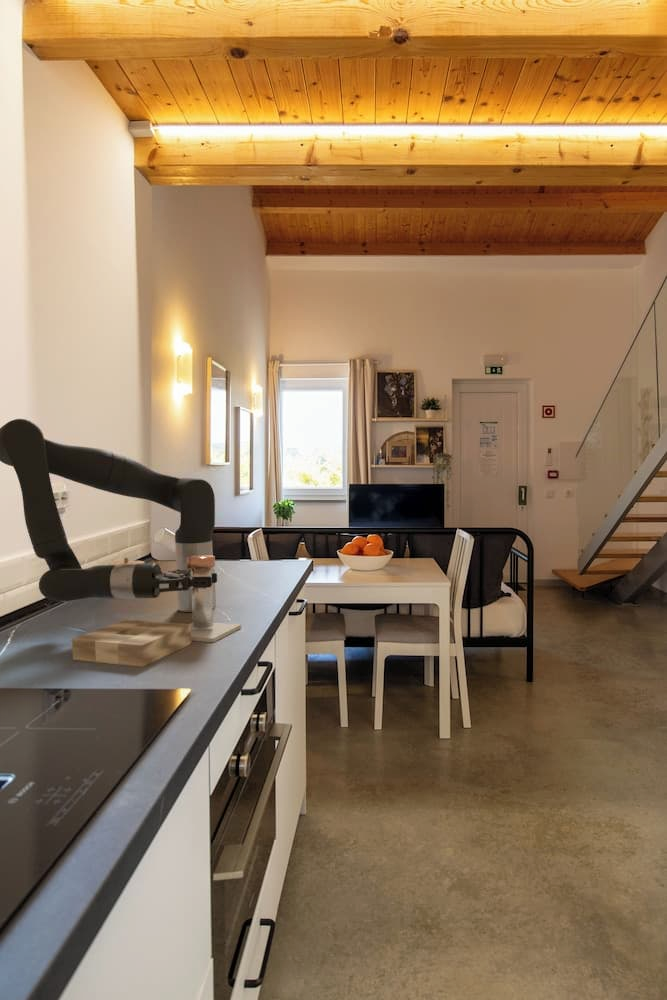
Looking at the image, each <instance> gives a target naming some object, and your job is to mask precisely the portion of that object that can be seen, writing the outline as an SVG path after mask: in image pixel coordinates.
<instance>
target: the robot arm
mask: <svg viewBox="0 0 667 1000" xmlns="http://www.w3.org/2000/svg"><path fill="white" fill-rule="evenodd" d="M0 462H1V463H3V464H4V465H7V466H11V467H12V468H13V469H14V471H15V473H16V476H17V479H18V482H19V486H20V490H21V497H22V505H23V506H22V507H23V516H24V520H25V525H26V529H27V532H28V536H29V540H30V543H31V545H32V548H33V552H34V554H35V556H36V557H37V558H39V559H43V560H45V563H46V565H47V566H48V568H49V570H47V571H46V572H44V573H43V574H42V575H41V577H40V579H39V581H38V589H39V591H40V593H41V595H42V596H43V597H44V598H46V599H48V600H50V601H53V602H68V601H74V600H75V601H76V600H82V599H88V598H105V599H106V598H109V599H111V598H120V599H157V598H159V596H160V594H161V593H169V592H177V593H176V594H177V596H176V597H177V610H178V611H180V612H185V613H192V590H191V589H192V588H197V587H211V586H212V599H213V609H214V608H215V607H216V605H217V600H216V583H217V582H218V573H216V572H215V571H216V570H215V568H214V567H211V568H212V577H194V578H193V576H191V568H187V557H190V556H198V555H211V556H214V555H213V554H214V552H213V533H214V531H215V528H216V527H215V526H216V501H215V500H216V499H215V492H214V489H213V487H212V485H211V484H210V482H208V481H207V480H206V479H203V478H198V477H197V478H196V477H192V478H191V477H188V478H187V477H179V476H173V475H170V474H169V475H168V474H165V473H162V472H157V471H156V470H153V469H151V468H149V467H147V466H146V465H144V464H142V463H141V462H138V461H137V460H135V459H132V458H130V457H127V456H125V455H122V454H119V453H116V452H113V451H110V450H106V449H102V448H96V447H89V446H79V445H68V444H64V443H63V444H62V443H59V442H55V441H53V440H49V439H47V438H46V437H45V436H44V433H43V432H42V430H41V429H40V427H39V426H38V425H37V424H36V423H35V422H33V421H31V420H28V419H25V418H16V419H13V420H10V421H8V422H6V423H5V424H4V425H2V426H1V427H0ZM50 474H52V475H55V476H57V477H61V478H64V479H67V480H69V481H72V482H75V483H79V484H82V485H84V486H87V487H91V488H94V489H97V490H101V491H103V492H108V493H110V494H116V495H118V496H124V497H128V498H134V499H142V500H146V501H150V502H154V503H156V504H159V505H162V507H166V508H168V509H171V510H172V511H175V512H178V513H179V514H180V521H179V523H180V524H179V527H178V529H176V531H175V533H174V544H175V546H174V547H175V548H174V549H175V568H176V569H171V570H170V569H169V570H167V571H166V572H162V568H161V566H160V565H159V564H158V563H157V562H156V563H155V562H153V563H152V562H151V563H149V562H147V563H146V562H145V563H142V564H121V565H108V564H103V565H93V566H91V567H88V568H87V567H86V568H82V565H81V564H80V562H79V561H80V560H79V559H78V558H77V556H76V555H75V552H74V551H73V549H72V548H71V546H70V544H69V542H68V539H67V535H66V531H65V528H64V525H63V522H62V519H61V516H60V512H59V510H58V504H57V502H56V499H55V495H54V492H53V486H52V481H51V476H50Z"/></svg>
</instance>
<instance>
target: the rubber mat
mask: <svg viewBox="0 0 667 1000" xmlns="http://www.w3.org/2000/svg"><path fill="white" fill-rule="evenodd" d="M189 624H191V642H206V643H215V642H216V641H219V640H221V639H222V638H225V637H227V636H229V635H230V634H233V633H234V632H237V631H238V629H239V630H240V629H242V624H237V623H223V622H213V626H212V627H208V628H194V627H193V621H192V622H190V623H189Z"/></svg>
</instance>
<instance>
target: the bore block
mask: <svg viewBox="0 0 667 1000" xmlns="http://www.w3.org/2000/svg"><path fill="white" fill-rule="evenodd" d="M191 644H192V641H191V624H190V623H178V622H166V621H165V622H162V621H150V620H135V619H134V620H133V619H124V620H122V621H118V622H116V623H113V624H110V625H107V626H105V627H101V628H99V629H97V630H93V631H91V632H89V633H84V634H82V635H79V636H77V637H75V638H74V637H73V638H71V645H72V646H71V647H72V660H73V661H81V662H89V663H101V664H111V665H120V666H131V667H132V666H133V667H139V668H144V667H146V666H148V665H150V664H152V663H154V662H157V661H158V660H161V659H163V658H165V657H166V656H168V655H171V654H173V653H175V652H177V651H179V650H181V649H183V648H185V647H187V646H189V645H191Z"/></svg>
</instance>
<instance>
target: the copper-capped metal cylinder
mask: <svg viewBox="0 0 667 1000" xmlns="http://www.w3.org/2000/svg"><path fill="white" fill-rule="evenodd" d="M211 567H213V568H214V567H216V556H215V555H213V556H211V555H198V556H190V557H187V568H191V576H193V578H194V577H212V568H211ZM191 590H192V612H191V617H192V622H193V627H194V628H208V627H212V626H213V623H214V608H213V599H212V586H211V587H197V588H192V589H191Z"/></svg>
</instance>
